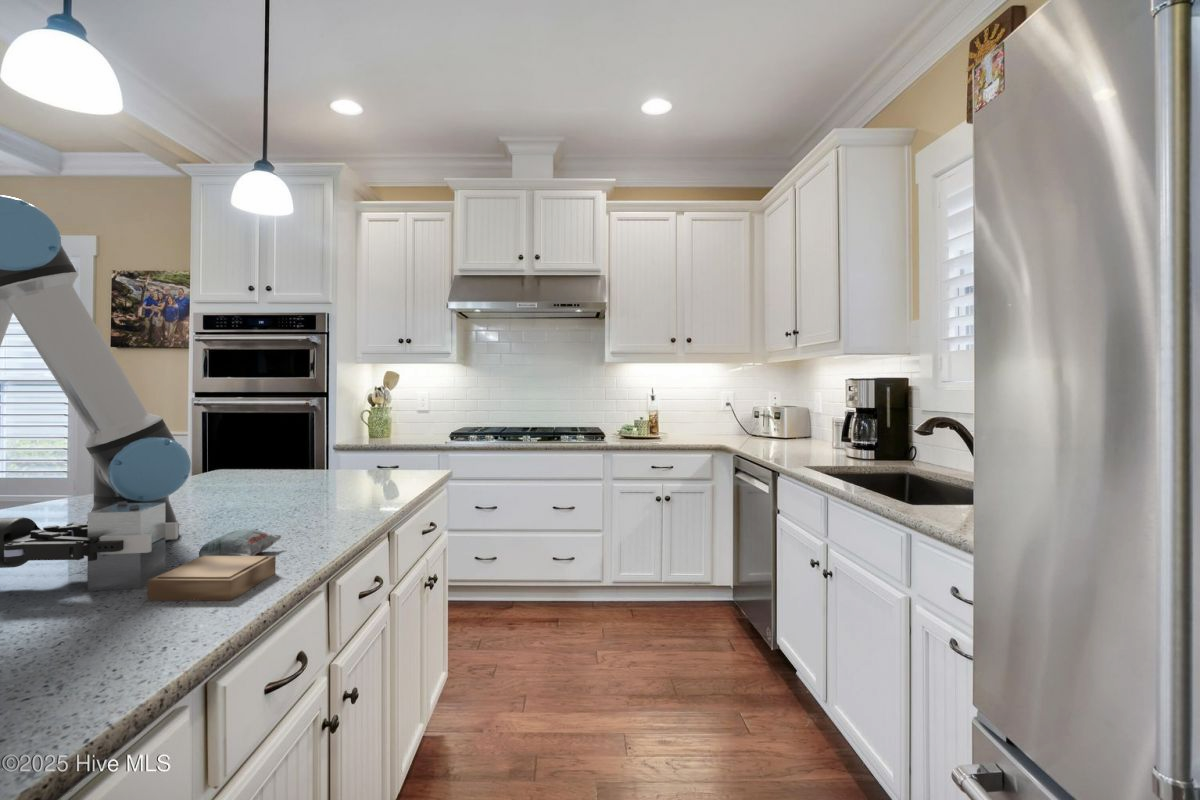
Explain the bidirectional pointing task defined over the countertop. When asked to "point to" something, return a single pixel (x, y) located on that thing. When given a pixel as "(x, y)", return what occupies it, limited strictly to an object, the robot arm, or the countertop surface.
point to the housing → (130, 566)
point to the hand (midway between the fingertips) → (163, 536)
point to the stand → (211, 578)
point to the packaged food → (239, 543)
